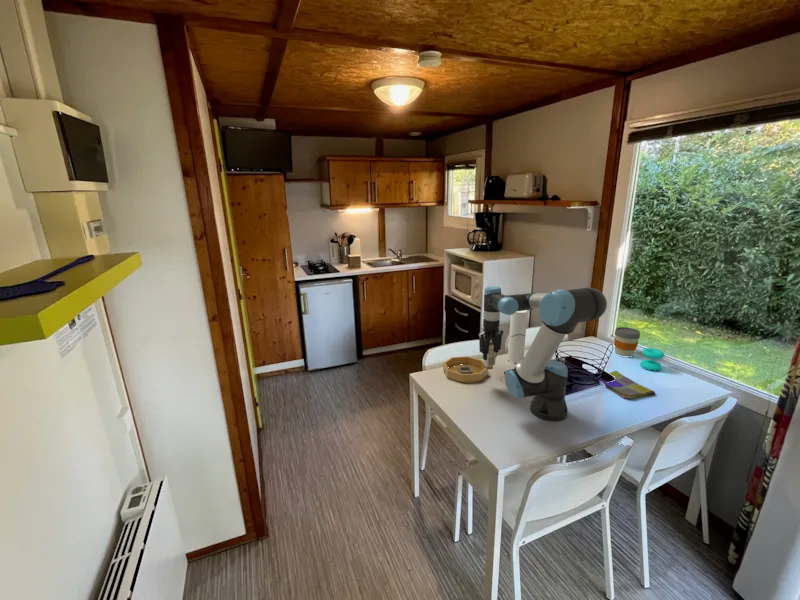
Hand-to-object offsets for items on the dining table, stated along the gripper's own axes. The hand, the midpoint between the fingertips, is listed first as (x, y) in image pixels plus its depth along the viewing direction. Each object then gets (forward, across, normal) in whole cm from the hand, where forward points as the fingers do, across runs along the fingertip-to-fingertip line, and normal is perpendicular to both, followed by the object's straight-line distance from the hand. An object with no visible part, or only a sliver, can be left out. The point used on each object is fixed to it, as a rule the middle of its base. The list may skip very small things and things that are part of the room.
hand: (489, 364), depth 182 cm
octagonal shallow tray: (+11, +2, -17) cm, 21 cm away
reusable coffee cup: (+12, -95, +5) cm, 96 cm away
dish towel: (+13, -59, +29) cm, 67 cm away
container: (+11, -33, -18) cm, 39 cm away
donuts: (+12, -91, +22) cm, 95 cm away
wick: (+2, 0, 0) cm, 2 cm away
